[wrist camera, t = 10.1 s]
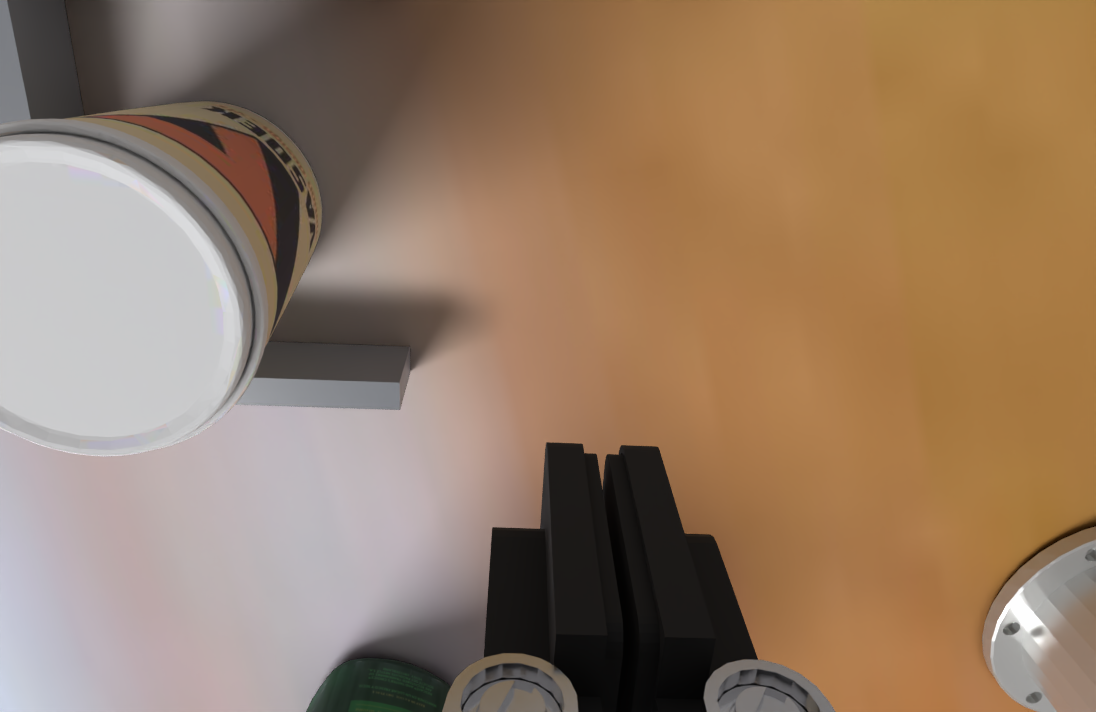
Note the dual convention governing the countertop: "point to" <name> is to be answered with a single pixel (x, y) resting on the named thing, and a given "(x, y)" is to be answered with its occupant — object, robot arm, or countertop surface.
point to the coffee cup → (144, 269)
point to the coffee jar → (380, 688)
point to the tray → (286, 367)
